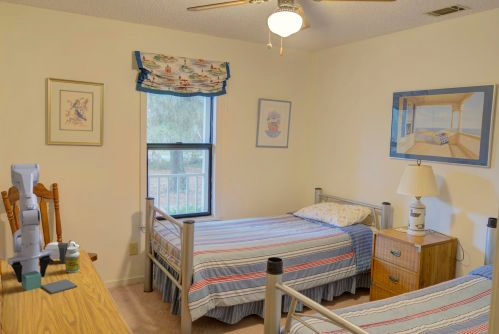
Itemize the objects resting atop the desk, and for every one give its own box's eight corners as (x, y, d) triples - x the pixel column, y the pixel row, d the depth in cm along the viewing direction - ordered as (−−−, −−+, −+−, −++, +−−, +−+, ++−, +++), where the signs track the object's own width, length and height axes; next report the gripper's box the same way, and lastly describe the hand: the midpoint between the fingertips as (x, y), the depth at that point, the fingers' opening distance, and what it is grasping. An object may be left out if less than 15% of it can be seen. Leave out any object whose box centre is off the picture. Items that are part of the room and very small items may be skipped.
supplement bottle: (78, 267, 165) (78, 245, 164) (81, 271, 161) (81, 248, 160) (64, 269, 162) (64, 247, 161) (66, 274, 158) (66, 250, 157)
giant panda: (41, 265, 167) (41, 243, 166) (45, 261, 172) (44, 239, 171) (79, 263, 171) (78, 241, 170) (81, 259, 176) (80, 238, 175)
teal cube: (21, 287, 144) (21, 274, 143) (36, 283, 148) (35, 270, 147) (26, 291, 140) (26, 277, 140) (41, 287, 144) (41, 274, 144)
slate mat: (41, 287, 144) (41, 285, 144) (66, 280, 151) (66, 278, 151) (51, 294, 138) (51, 292, 138) (77, 287, 145) (77, 285, 145)
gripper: (12, 249, 134) (13, 287, 136) (55, 241, 145) (56, 276, 146) (4, 244, 139) (6, 282, 140) (47, 237, 150) (48, 272, 151)
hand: (31, 279), depth 144 cm, fingers open, 7 cm apart
